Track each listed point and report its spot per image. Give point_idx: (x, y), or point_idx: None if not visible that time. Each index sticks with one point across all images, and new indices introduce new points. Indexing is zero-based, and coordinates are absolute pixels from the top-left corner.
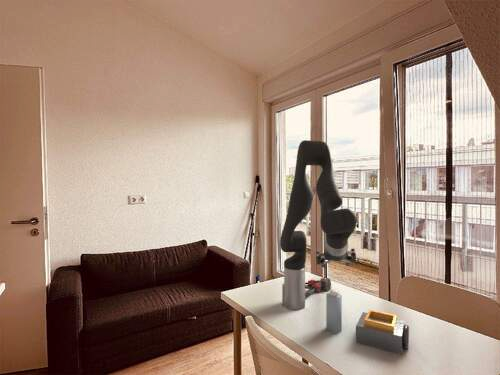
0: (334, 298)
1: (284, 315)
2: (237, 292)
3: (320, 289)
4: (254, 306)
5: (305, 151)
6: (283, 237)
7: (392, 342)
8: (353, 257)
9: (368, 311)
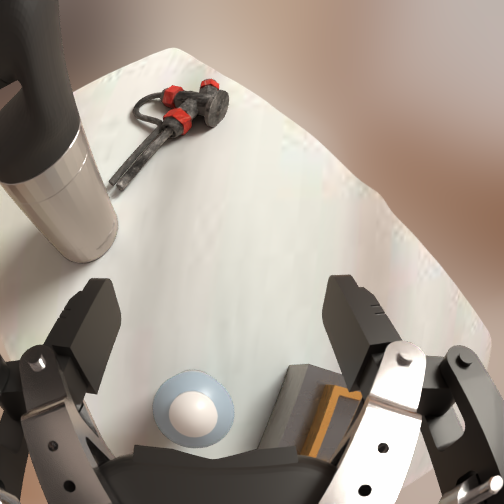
0: (193, 446)
1: (48, 305)
2: None
3: (190, 126)
4: None
5: None
6: None
7: None
8: (450, 488)
9: (329, 403)
